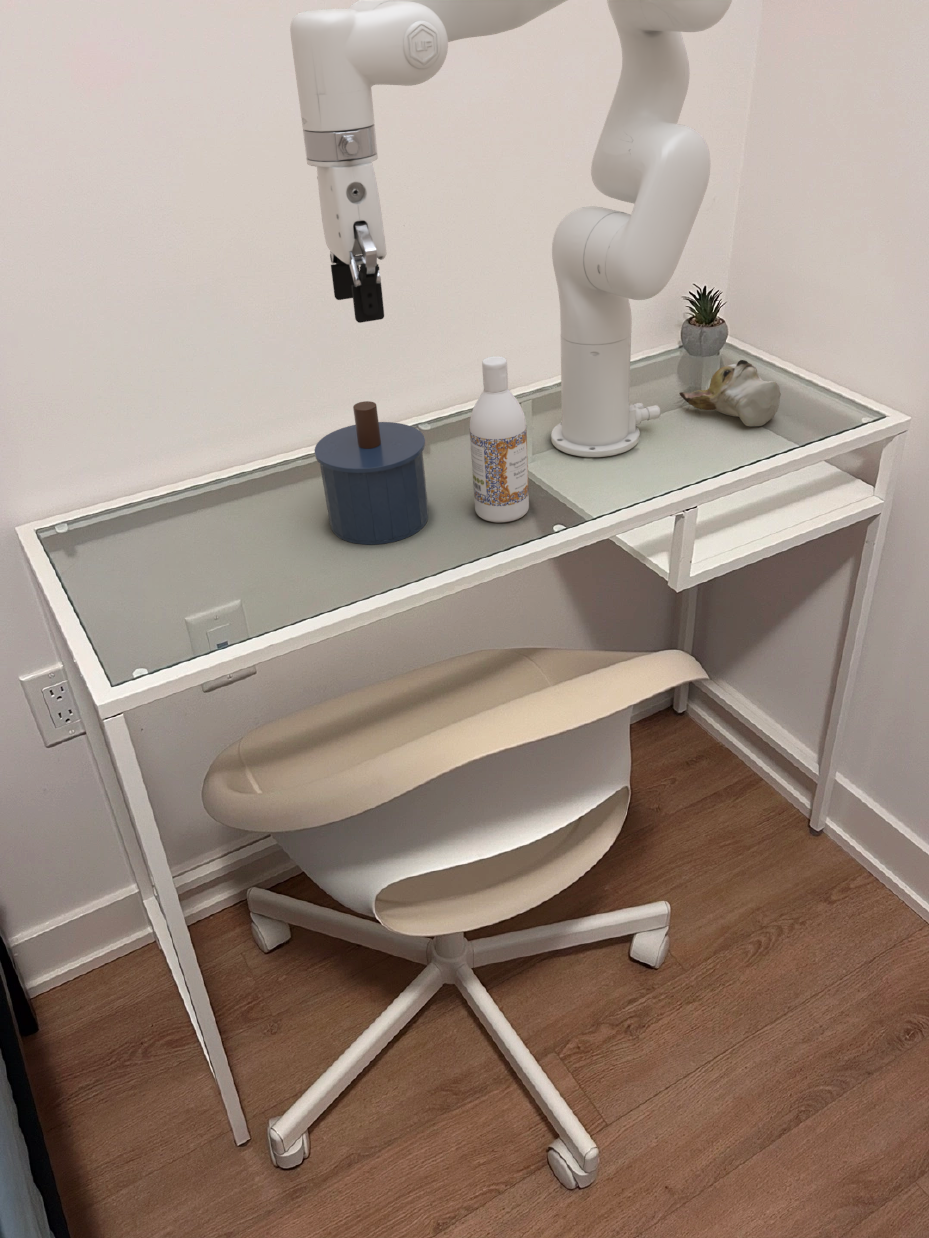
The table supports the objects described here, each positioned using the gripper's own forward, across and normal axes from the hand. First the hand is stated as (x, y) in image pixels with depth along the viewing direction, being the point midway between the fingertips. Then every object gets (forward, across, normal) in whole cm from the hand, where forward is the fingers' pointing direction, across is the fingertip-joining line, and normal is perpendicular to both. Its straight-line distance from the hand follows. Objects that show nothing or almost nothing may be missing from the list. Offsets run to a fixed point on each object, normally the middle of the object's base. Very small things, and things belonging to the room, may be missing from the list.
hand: (358, 308), depth 115 cm
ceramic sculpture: (+26, +6, -56) cm, 62 cm away
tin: (+27, -1, +1) cm, 27 cm away
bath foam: (+27, -6, -14) cm, 31 cm away
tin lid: (+17, -1, +1) cm, 17 cm away
